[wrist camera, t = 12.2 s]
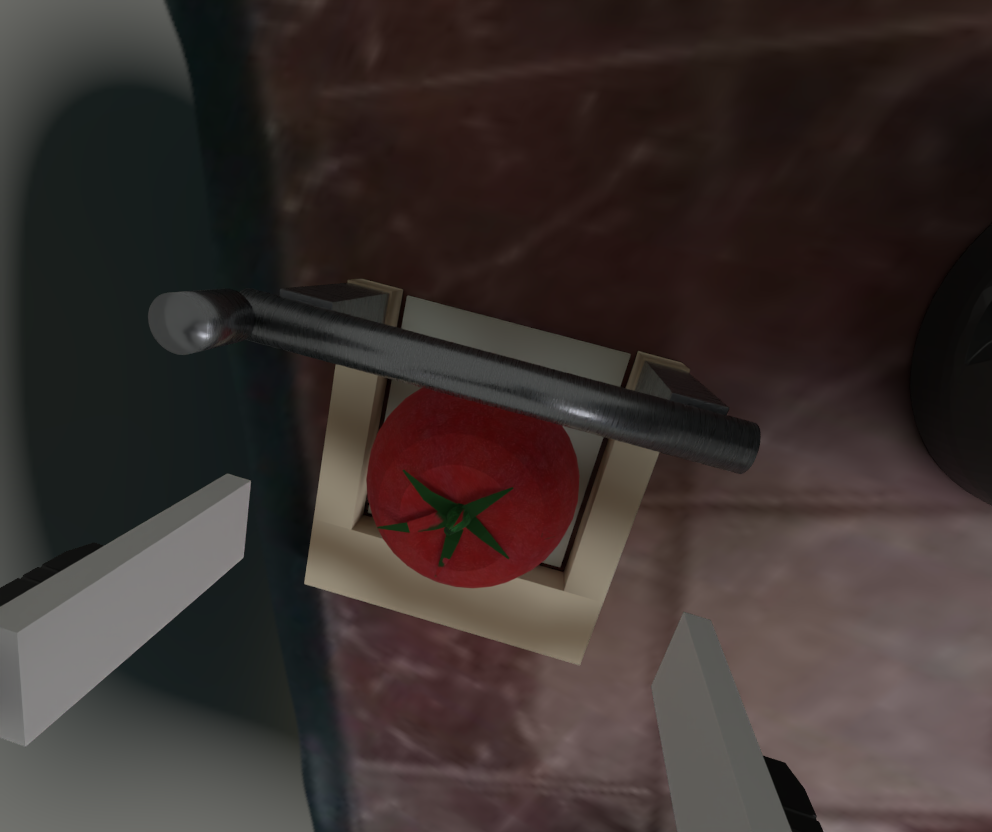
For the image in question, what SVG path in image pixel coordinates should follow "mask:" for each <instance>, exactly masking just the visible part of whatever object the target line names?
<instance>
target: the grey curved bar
mask: <svg viewBox="0 0 992 832" xmlns="http://www.w3.org/2000/svg"><path fill="white" fill-rule="evenodd" d="M389 294H390V293H387V292H383V291H380V290H376V289H372V288H368V287H364V286H361V285H357V284H353V283H340V284H328V285H317V286H305V287H293V288H282V289H280V296H277V295H274V294H270V293H266V292H262V291H259V290H255V289H251V288H246V289H244V290H242V291H241V292H240V293H239V292H237V291H235V290H232V289H213V290H201V291H200V290H199V291H185V292H171V293H165V294H162V295H160V296H158V297H157V298H156V299H155V300H154V301H153V302H152V304H151V306H150V308H149V313H148V321H149V326H150V330H151V332H152V334H153V336H154V338H155V339H156V340H157V341H158V343H159V344H160V345H161V346H163V347H164V348H165V349H166V350H168V351H170V352H172V353H175V354H179V355H186V354H191V353H195V352H199V351H203V350H208V349H212V348H216V347H220V346H224V345H229V344H233V343H237V342H241V341H244V340H249V341H253V342H256V343H260V344H264V345H267V346H271V347H275V348H278V349H282V350H286V351H289V352H293V353H297V354H301V355H304V356H308V357H312V358H315V359H319V360H323V361H326V362H330V363H334V364H337V365H341V366H345V367H348V368H352V369H356V370H359V371H363V372H367V373H370V374H374V375H378V376H381V377H385V378H389V379H392V380H396V381H400V382H403V383H407V384H411V385H414V386H418V387H422V388H425V389H429V390H433V391H437V392H440V393H444V394H448V395H451V396H455V397H459V398H462V399H466V400H470V401H473V402H477V403H481V404H484V405H488V406H492V407H495V408H499V409H503V410H506V411H510V412H514V413H517V414H521V415H525V416H528V417H532V418H536V419H539V420H543V421H547V422H550V423H554V424H558V425H561V426H565V427H569V428H572V429H576V430H580V431H584V432H587V433H591V434H595V435H598V436H602V437H606V438H609V439H613V440H617V441H620V442H624V443H628V444H631V445H635V446H639V447H642V448H646V449H650V450H653V451H657V452H661V453H664V454H668V455H672V456H675V457H679V458H683V459H686V460H690V461H694V462H697V463H701V464H705V465H708V466H712V467H716V468H719V469H723V470H727V471H731V472H734V473H738V474H742V473H745V472H746V471H747V470H748V469H749V468H750V467H751V465H752V464H753V462H754V460H755V458H756V456H757V453H758V450H759V445H760V429H759V426H758V425H757V424H756V423H754V422H750V421H746V420H742V419H739V418H735V417H731V416H727V412H728V410H729V407H728V406H726V405H725V404H724V403H723V402H722V401H721V400H720V399H718V398H717V397H716V396H715V395H714V394H713V393H711V392H710V391H709V390H708V389H707V388H706V387H705V386H703V385H702V384H701V383H700V382H699V381H698V380H696V379H695V378H694V377H693V376H692V375H691V374H690V373H688V372H687V371H684V370H680V369H676V368H672V367H668V366H665V365H661V364H657V363H653V362H649V361H646V360H645V361H644V364H643V367H642V370H641V373H640V376H639V379H638V382H637V385H636V388H635V391H634V390H630V389H626V388H622V387H619V386H615V385H611V384H607V383H604V382H600V381H596V380H592V379H589V378H585V377H581V376H577V375H574V374H570V373H566V372H562V371H559V370H555V369H551V368H547V367H544V366H540V365H536V364H532V363H529V362H525V361H521V360H517V359H514V358H510V357H506V356H502V355H499V354H495V353H491V352H487V351H484V350H480V349H476V348H472V347H469V346H465V345H461V344H457V343H454V342H450V341H446V340H442V339H439V338H435V337H431V336H427V335H424V334H420V333H416V332H412V331H409V330H405V329H401V328H397V327H394V326H390V325H386V324H384V323H385V317H386V311H387V306H388V300H389Z"/></svg>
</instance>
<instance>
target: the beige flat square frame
mask: <svg viewBox="0 0 992 832" xmlns="http://www.w3.org/2000/svg"><path fill="white" fill-rule="evenodd" d="M348 283H353V284H357V285H361V286H364V287H368V288H372V289H376V290H380V291H383V292H387V293H390V294H389V300H388V306H387V311H386V317H385V323H384V324H386V325H390V326H394V327H397V323H398V318H399V312H400V306H401V301H402V295H403V289H399V288H395V287H392V286H388V285H384V284H380V283H376V282H373V281H369V280H365V279H352V280H348ZM401 329H405V330H409V331H412V332H416V333H420V334H424V335H427V336H431V337H435V338H439V339H442V340H446V341H450V342H454V343H457V344H461V345H465V346H469V347H472V348H476V349H480V350H484V351H487V352H491V353H495V354H499V355H502V356H506V357H510V358H514V359H517V360H521V361H525V362H529V363H532V364H536V365H540V366H544V367H547V368H551V369H555V370H559V371H562V372H566V373H570V374H574V375H577V376H581V377H585V378H589V379H592V380H596V381H600V382H604V383H607V384H611V385H615V386H619V387H620V386H621V383H622V380H623V377H624V374H625V371H626V368H627V365H628V362H629V359H630V356H631V354H629V353H625V352H622V351H618V350H614V349H610V348H606V347H603V346H599V345H595V344H591V343H587V342H584V341H580V340H576V339H572V338H568V337H565V336H561V335H557V334H553V333H549V332H546V331H542V330H538V329H534V328H530V327H527V326H523V325H519V324H515V323H511V322H507V321H504V320H500V319H496V318H492V317H488V316H485V315H481V314H477V313H473V312H469V311H466V310H462V309H458V308H454V307H450V306H447V305H443V304H439V303H435V302H431V301H428V300H424V299H420V298H416V297H412V296H407V299H406V304H405V310H404V315H403V321H402V326H401ZM645 360H646V361H649V362H653V363H657V364H661V365H665V366H668V367H672V368H676V369H680V370H684V371H687V372H688V373H689V372H690V369H689V368H688V367H686V366H685V365H684V364H683V363H681V362H677V361H674V360H670V359H666V358H662V357H658V356H655V355H651V354H647V353H643V352H639V351H638V352H637V355H636V358H635V361H634V364H633V367H632V370H631V373H630V376H629V379H628V382H627V385H626V389H630V390H634V391H635V388H636V385H637V382H638V379H639V376H640V373H641V370H642V367H643V364H644V361H645ZM387 379H388V378H385V377H381V376H378V375H374V374H370V373H367V372H363V371H359V370H356V369H352V368H348V367H345V366H341V365H337V364H336V366H335V373H334V380H333V387H332V394H331V401H330V408H329V415H328V422H327V429H326V436H325V443H324V450H323V457H322V464H321V471H320V478H319V485H318V492H317V499H316V506H315V513H314V520H313V527H312V534H311V541H310V548H309V555H308V562H307V568H306V575H305V582H304V584H307V585H310V586H314V587H317V588H320V589H324V590H327V591H330V592H334V593H337V594H341V595H344V596H347V597H351V598H354V599H357V600H361V601H364V602H368V603H371V604H374V605H378V606H381V607H384V608H388V609H391V610H395V611H398V612H401V613H405V614H408V615H411V616H415V617H418V618H422V619H425V620H428V621H432V622H435V623H438V624H442V625H445V626H449V627H452V628H455V629H459V630H462V631H465V632H469V633H472V634H476V635H479V636H482V637H486V638H489V639H492V640H496V641H499V642H503V643H506V644H509V645H513V646H516V647H519V648H523V649H526V650H530V651H533V652H536V653H540V654H543V655H546V656H550V657H553V658H557V659H560V660H563V661H567V662H570V663H574V664H577V665H580V664H581V661H582V658H583V656H584V653H585V650H586V648H587V645H588V642H589V640H590V637H591V634H592V632H593V629H594V626H595V624H596V621H597V618H598V616H599V613H600V610H601V608H602V605H603V602H604V600H605V597H606V594H607V591H608V589H609V586H610V583H611V581H612V578H613V575H614V573H615V570H616V567H617V565H618V562H619V559H620V557H621V554H622V551H623V549H624V546H625V543H626V541H627V538H628V535H629V533H630V530H631V527H632V525H633V522H634V519H635V517H636V514H637V511H638V509H639V506H640V503H641V501H642V498H643V495H644V493H645V490H646V487H647V484H648V482H649V479H650V476H651V474H652V471H653V468H654V466H655V463H656V460H657V458H658V455H659V452H657V451H653V450H650V449H646V448H642V447H639V446H635V445H631V444H628V443H624V442H620V441H617V440H613V439H608V442H607V445H606V448H605V451H604V454H603V457H602V460H601V463H600V466H599V469H598V472H597V474H596V477H595V480H594V483H593V486H592V489H591V492H590V495H589V498H588V501H587V504H586V507H585V510H584V513H583V516H582V519H581V522H580V525H579V528H578V531H577V534H576V537H575V540H574V543H573V546H572V549H571V552H570V555H569V558H568V561H567V564H566V567H565V570H564V572H561V571H558V570H554V569H551V568H547V567H544V566H540V565H538V566H536V567H535V568H534V569H533V570H531V571H529V572H527V573H525V574H523V575H521V576H519V577H517V578H515V579H513V580H511V581H509V582H507V583H503V584H499V585H496V586H492V587H483V588H462V587H454V586H450V585H446V584H442V583H438V582H436V581H433V580H431V579H429V578H427V577H424V576H422V575H420V574H419V573H417V572H416V571H414V570H413V569H411V568H410V567H408V566H407V565H406V564H405V563H404V562H402V561H401V560H400V559H399V558H398V557H397V556H396V555H395V554H394V553H393V552H392V550H391V549H390V548H389V546H388V545H387V544H386V542H385V541H384V540H383V538H382V536H381V534H380V532H379V530H378V528H377V526H376V524H375V521H374V519H373V517H369V516H366V515H363V514H364V508H365V502H366V497H367V483H366V478H367V471H368V464H369V458H370V453H371V449H372V446H373V444H374V441H375V438H376V436H377V433H378V430H379V424H380V418H381V413H382V407H383V402H384V396H385V390H386V385H387ZM421 388H422V387H418V386H414V385H411V384H407V383H403V382H400V381H396V380H392V382H391V387H390V393H389V398H388V404H387V409H386V415H385V420H386V419H387V417H388V416H389V415H390V414H391V412H392V411H393V410H394V409H395V408H396V407H397V406H398V405H399V404H400V403H401V402H402V401H403V400H404V399H405V398H407V397H408V396H410V395H411V394H413V393H414V392H416V391H418V390H419V389H421ZM385 420H384V422H385ZM563 428H564V429H565V431H566V432H567V434H568V436H569V437H570V440H571V443H572V445H573V448H574V450H575V453H576V456H577V462H578V468H579V475H580V477H579V493H578V503H577V506H576V510H575V513H574V517H573V520H572V522H571V524H570V526H569V527H568V529H567V531H566V533H565V535H564V536H563V538H562V540H561V541H560V543H559V544H558V546H557V547H556V548H555V549H554V550H553V552H552V553H551V554H550V555H549V556H548V557H547V558H546V560H544V561H543V562H542V563H546V564H549V565H553V566H556V567H561V564H562V561H563V558H564V555H565V552H566V549H567V546H568V543H569V539H570V536H571V533H572V530H573V527H574V524H575V521H576V518H577V515H578V512H579V509H580V506H581V503H582V500H583V497H584V494H585V491H586V488H587V485H588V482H589V479H590V476H591V473H592V470H593V467H594V464H595V461H596V458H597V455H598V452H599V449H600V446H601V443H602V440H603V437H602V436H598V435H595V434H591V433H587V432H584V431H580V430H576V429H572V428H569V427H565V426H563ZM368 513H372V512H371V509H370V505H369V508H368Z"/></svg>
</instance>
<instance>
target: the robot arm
mask: <svg viewBox="0 0 992 832" xmlns="http://www.w3.org/2000/svg"><path fill="white" fill-rule="evenodd" d="M910 389H911V401H912V409H913V413H914V417H915V421H916V424H917V427H918V430H919V433H920V435H921V438H922V440H923V442H924V444H925V446H926V447H927V449H928V451H929V453H930V454H931V456H932V457H933V459H934V460H935V461H936V463H937V464H938V465H939V466H940V468H941V469H942V470H943V471H944V472H945V473H946V474H947V475H948V476H949V477H950V478H951V479H952V480H953V481H954V482H956V483H957V484H958V485H959V486H960V487H962V488H963V489H965V490H966V491H968V492H969V493H970V494H972V495H974V496H976V497H977V498H979V499H981V500H983V501H984V502H986V503H988V504H990V505H991V506H992V224H991V225H990V226H989V227H988V228H987V229H986V230H985V231H984V232H983V233H982V234H981V235H980V236H979V237H978V238H977V239H976V240H975V241H974V242H973V243H972V244H971V245H970V247H969V248H968V249H967V250H966V251H965V252H964V254H963V255H962V256H961V257H960V258H959V260H958V261H957V262H956V264H955V265H954V266H953V268H952V269H951V270H950V272H949V273H948V275H947V276H946V278H945V279H944V281H943V282H942V284H941V286H940V287H939V289H938V291H937V292H936V294H935V296H934V298H933V300H932V302H931V304H930V306H929V308H928V310H927V312H926V315H925V317H924V319H923V322H922V325H921V327H920V330H919V333H918V337H917V340H916V344H915V348H914V353H913V358H912V366H911V379H910ZM250 485H251V481H250V480H247V479H243V478H240V477H237V476H234V475H230V474H226V475H224V476H222V477H221V478H219V479H218V480H216V481H214V482H212V483H211V484H209V485H207V486H206V487H204V488H202V489H200V490H199V491H197V492H195V493H193V494H192V495H190V496H188V497H187V498H185V499H183V500H182V501H180V502H178V503H176V504H175V505H173V506H172V507H170V508H168V509H166V510H165V511H163V512H161V513H159V514H158V515H156V516H154V517H153V518H151V519H149V520H147V521H146V522H144V523H142V524H141V525H139V526H137V527H136V528H134V529H132V530H130V531H129V532H127V533H125V534H124V535H122V536H120V537H119V538H117V539H115V540H113V541H112V542H110V543H108V544H107V545H105V546H103V545H100V544H97V543H91V544H88V545H85V546H82V547H79V548H75V549H72V550H69V551H66V552H64V553H62V554H61V555H59V556H57V557H55V558H54V559H52V560H50V561H48V562H46V563H44V564H43V565H42V567H41V568H39V567H37V568H35V569H33V570H32V571H30V572H28V573H26V574H24V575H23V577H22V578H21V579H19V578H17V579H15V580H14V581H12V582H10V583H8V584H6V585H5V586H3V587H1V588H0V738H2V739H5V740H8V741H11V742H14V743H16V744H19V745H22V746H27V745H28V744H29V743H30V742H31V741H33V740H34V739H35V738H36V737H37V736H38V735H39V734H41V733H42V732H43V731H44V730H45V729H46V728H48V727H49V726H50V725H51V724H52V723H53V722H54V721H55V720H57V719H58V718H59V717H60V716H61V715H62V714H64V712H66V711H67V710H68V709H69V708H71V707H72V706H73V705H74V704H75V703H76V702H77V701H79V700H80V699H81V698H82V697H83V696H84V695H85V694H87V693H88V692H89V691H90V690H91V689H92V688H94V687H95V686H96V685H97V684H98V683H99V682H101V681H102V680H103V679H104V678H105V677H106V676H107V675H108V674H110V673H111V672H112V671H113V670H114V669H116V668H117V667H118V666H119V665H120V664H121V663H122V662H124V661H125V660H126V659H127V658H128V657H129V656H131V654H133V653H134V652H135V651H136V650H137V649H139V648H140V647H141V646H142V645H143V644H144V643H146V642H147V641H148V640H149V639H150V638H151V637H152V636H154V635H155V634H156V633H157V632H158V631H159V630H160V629H162V628H163V627H164V626H165V625H166V624H167V623H168V622H170V621H171V620H172V619H173V618H174V617H176V616H177V615H178V614H179V613H180V612H181V611H182V610H184V609H185V608H186V607H187V606H188V605H189V604H190V603H191V602H193V601H194V600H195V599H196V598H197V597H199V596H200V595H201V594H202V593H203V592H204V591H205V590H207V589H208V588H209V587H210V586H211V585H212V584H214V583H215V582H216V581H217V580H218V579H219V578H220V577H222V576H223V575H224V574H225V573H226V572H227V571H229V570H230V569H231V568H232V567H233V566H234V565H235V564H237V563H238V562H239V561H240V560H241V559H242V558H243V557H244V547H245V535H246V526H247V516H248V505H249V495H250ZM651 688H652V694H653V699H654V705H655V711H656V716H657V722H658V727H659V733H660V738H661V744H662V750H663V755H664V761H665V766H666V772H667V778H668V783H669V789H670V794H671V800H672V806H673V811H674V817H675V822H676V828H677V832H823V830H822V827H821V825H820V823H819V821H817V820H816V814H815V811H814V809H813V807H812V805H811V802H810V800H809V798H808V795H807V793H806V791H805V789H804V787H803V786H802V785H801V783H800V782H799V781H798V779H797V778H796V777H795V775H794V774H793V773H792V771H791V770H790V769H789V767H788V766H787V765H786V763H784V762H781V761H778V760H775V759H772V758H769V757H766V756H763V755H762V753H761V750H760V747H759V745H758V742H757V739H756V737H755V734H754V732H753V729H752V726H751V724H750V721H749V719H748V716H747V713H746V711H745V708H744V705H743V703H742V700H741V698H740V695H739V692H738V690H737V687H736V685H735V682H734V679H733V677H732V674H731V672H730V669H729V666H728V664H727V661H726V658H725V656H724V653H723V651H722V648H721V645H720V643H719V640H718V638H717V635H716V632H715V630H714V627H713V624H712V622H711V620H709V619H706V618H702V617H699V616H696V615H692V614H689V613H686V612H683V615H682V617H681V619H680V621H679V624H678V626H677V628H676V631H675V633H674V635H673V637H672V640H671V642H670V644H669V647H668V649H667V651H666V653H665V656H664V658H663V660H662V663H661V665H660V667H659V670H658V672H657V674H656V676H655V679H654V681H653V683H652V686H651Z"/></svg>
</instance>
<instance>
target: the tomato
mask: <svg viewBox="0 0 992 832" xmlns="http://www.w3.org/2000/svg"><path fill="white" fill-rule="evenodd" d="M579 477H580V475H579V468H578V462H577V456H576V453H575V450H574V448H573V445H572V443H571V440H570V437H569V436H568V434H567V432H566V431H565V429H564V428H563V426H561V425H558V424H554V423H550V422H547V421H543V420H539V419H536V418H532V417H528V416H525V415H521V414H517V413H514V412H510V411H506V410H503V409H499V408H495V407H492V406H488V405H484V404H481V403H477V402H473V401H470V400H466V399H462V398H459V397H455V396H451V395H448V394H444V393H440V392H437V391H433V390H429V389H425V388H421V389H419V390H418V391H416V392H414V393H413V394H411V395H410V396H408V397H407V398H405V399H404V400H403V401H402V402H401V403H400V404H399V405H398V406H397V407H396V408H395V409H394V410H393V411H392V412H391V414H390V415H389V416H388V417H387V419H386V420H385V422H384V423H383V425H382V427H381V428H380V430H379V431H378V433H377V436H376V438H375V441H374V444H373V446H372V449H371V453H370V458H369V464H368V471H367V478H366V483H367V497H368V502H369V505H370V509H371V512H372V516H373V519H374V521H375V524H376V526H377V528H378V530H379V532H380V534H381V536H382V538H383V540H384V541H385V542H386V544H387V545H388V546H389V548H390V549H391V550H392V552H393V553H394V554H395V555H396V556H397V557H398V558H399V559H400V560H401V561H402V562H404V563H405V564H406V565H407V566H408V567H410V568H411V569H413V570H414V571H416V572H417V573H419V574H420V575H422V576H424V577H427V578H429V579H431V580H433V581H436V582H438V583H442V584H446V585H450V586H454V587H462V588H483V587H492V586H496V585H499V584H503V583H507V582H509V581H511V580H513V579H515V578H517V577H519V576H521V575H523V574H525V573H527V572H529V571H531V570H533V569H534V568H535V567H536V566H538V565H539V564H540V563H542V562H543V561H544V560H546V558H547V557H548V556H549V555H550V554H551V553H552V552H553V550H554V549H555V548H556V547H557V546H558V544H559V543H560V541H561V540H562V538H563V536H564V535H565V533H566V531H567V529H568V527H569V526H570V524H571V522H572V520H573V517H574V513H575V510H576V506H577V503H578V493H579Z"/></svg>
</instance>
